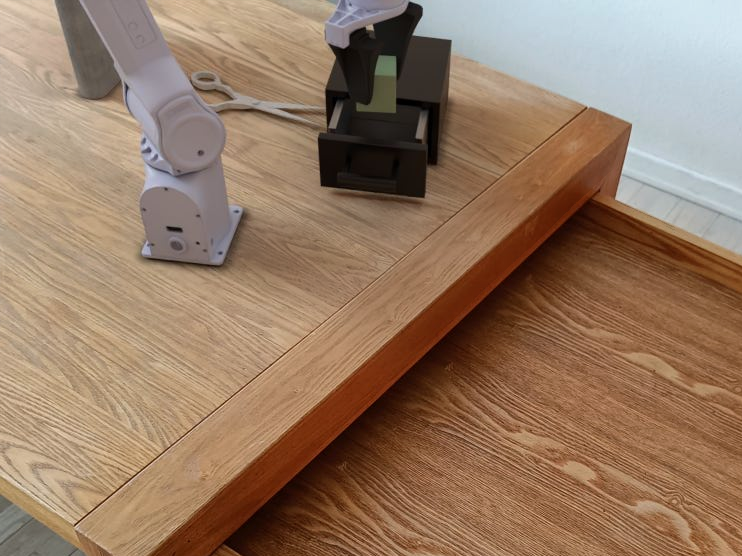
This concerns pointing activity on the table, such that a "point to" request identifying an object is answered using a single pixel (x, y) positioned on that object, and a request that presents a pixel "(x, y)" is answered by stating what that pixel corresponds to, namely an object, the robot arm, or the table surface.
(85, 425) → the table surface
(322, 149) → the drawer
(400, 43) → the robot arm
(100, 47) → the hip flask
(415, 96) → the cabinet
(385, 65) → the block
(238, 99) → the scissors
